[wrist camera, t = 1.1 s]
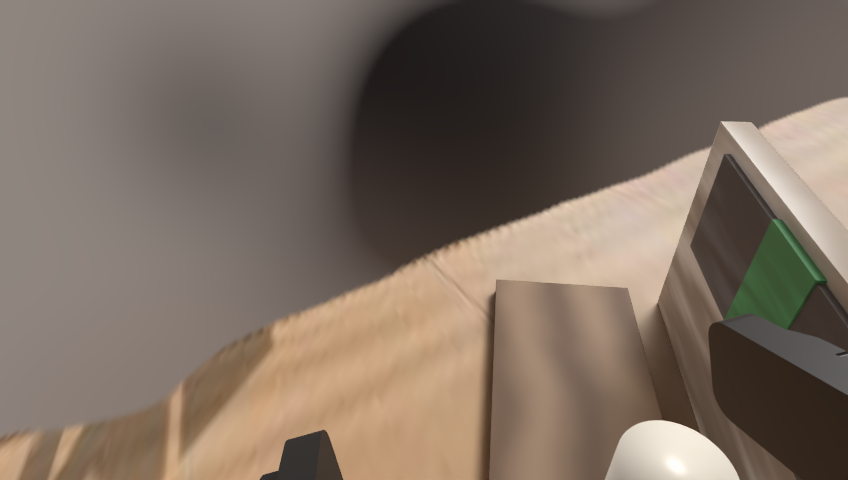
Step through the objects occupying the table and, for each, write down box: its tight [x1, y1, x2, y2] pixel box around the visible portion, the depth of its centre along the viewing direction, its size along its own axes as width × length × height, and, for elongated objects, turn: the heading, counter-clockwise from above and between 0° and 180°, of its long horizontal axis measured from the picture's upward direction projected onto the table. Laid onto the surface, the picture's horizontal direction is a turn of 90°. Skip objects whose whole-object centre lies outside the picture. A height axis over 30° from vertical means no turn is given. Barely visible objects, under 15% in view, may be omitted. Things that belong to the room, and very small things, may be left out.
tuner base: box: [489, 122, 848, 480], centre depth 28 cm, size 17×34×18 cm, turn 172°
